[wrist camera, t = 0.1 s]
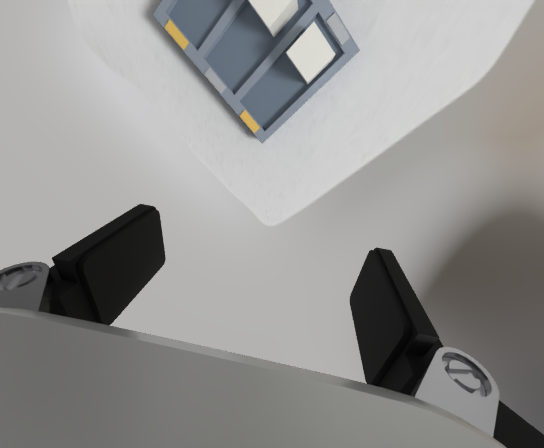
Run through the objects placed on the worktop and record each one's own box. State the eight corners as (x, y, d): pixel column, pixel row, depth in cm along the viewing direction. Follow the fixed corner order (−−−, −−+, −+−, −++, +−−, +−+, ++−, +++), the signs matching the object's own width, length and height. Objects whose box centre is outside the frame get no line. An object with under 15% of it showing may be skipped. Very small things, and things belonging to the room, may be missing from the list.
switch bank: (248, -118, 25) (241, -145, 22) (355, 54, 31) (360, 49, 28) (165, 22, 32) (152, 14, 29) (265, 140, 38) (261, 143, 35)
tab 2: (313, 32, 28) (313, 21, 25) (332, 60, 30) (335, 54, 26) (288, 58, 30) (286, 52, 26) (307, 84, 31) (307, 82, 27)
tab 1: (276, -24, 27) (271, -45, 23) (298, 9, 28) (296, -6, 24) (253, 8, 28) (244, -7, 24) (274, 37, 29) (268, 28, 25)
